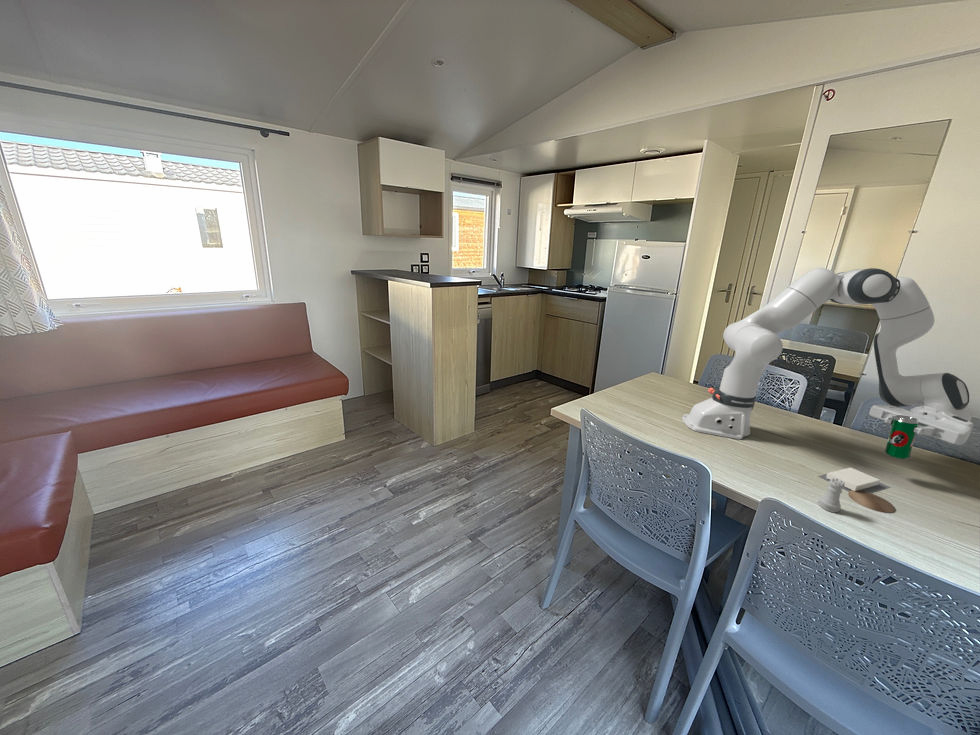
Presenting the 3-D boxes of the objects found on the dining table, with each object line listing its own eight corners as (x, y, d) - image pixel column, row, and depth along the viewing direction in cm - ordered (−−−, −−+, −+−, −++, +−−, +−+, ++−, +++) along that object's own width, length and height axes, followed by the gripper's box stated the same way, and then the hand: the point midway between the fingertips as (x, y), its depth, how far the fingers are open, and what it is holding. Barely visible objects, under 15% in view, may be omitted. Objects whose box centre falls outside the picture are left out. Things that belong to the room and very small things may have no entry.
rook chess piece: (812, 502, 101) (822, 476, 98) (828, 501, 101) (837, 476, 99) (828, 513, 97) (838, 486, 94) (844, 513, 97) (854, 486, 95)
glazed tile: (850, 467, 114) (827, 472, 111) (880, 479, 108) (856, 486, 104) (848, 472, 115) (825, 478, 111) (878, 485, 109) (854, 491, 105)
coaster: (863, 511, 98) (864, 508, 98) (839, 490, 107) (840, 488, 106) (903, 516, 97) (904, 514, 96) (875, 495, 105) (877, 492, 105)
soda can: (913, 461, 109) (924, 421, 106) (890, 457, 111) (900, 418, 108) (902, 454, 113) (912, 416, 111) (880, 451, 115) (890, 413, 113)
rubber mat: (848, 469, 117) (849, 468, 117) (889, 488, 108) (890, 487, 108) (817, 477, 112) (817, 476, 112) (857, 498, 103) (858, 496, 103)
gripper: (887, 397, 123) (862, 401, 118) (982, 425, 105) (956, 431, 100) (880, 415, 125) (855, 420, 120) (972, 445, 107) (946, 452, 102)
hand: (901, 425), depth 110 cm, fingers closed on soda can, 5 cm apart
